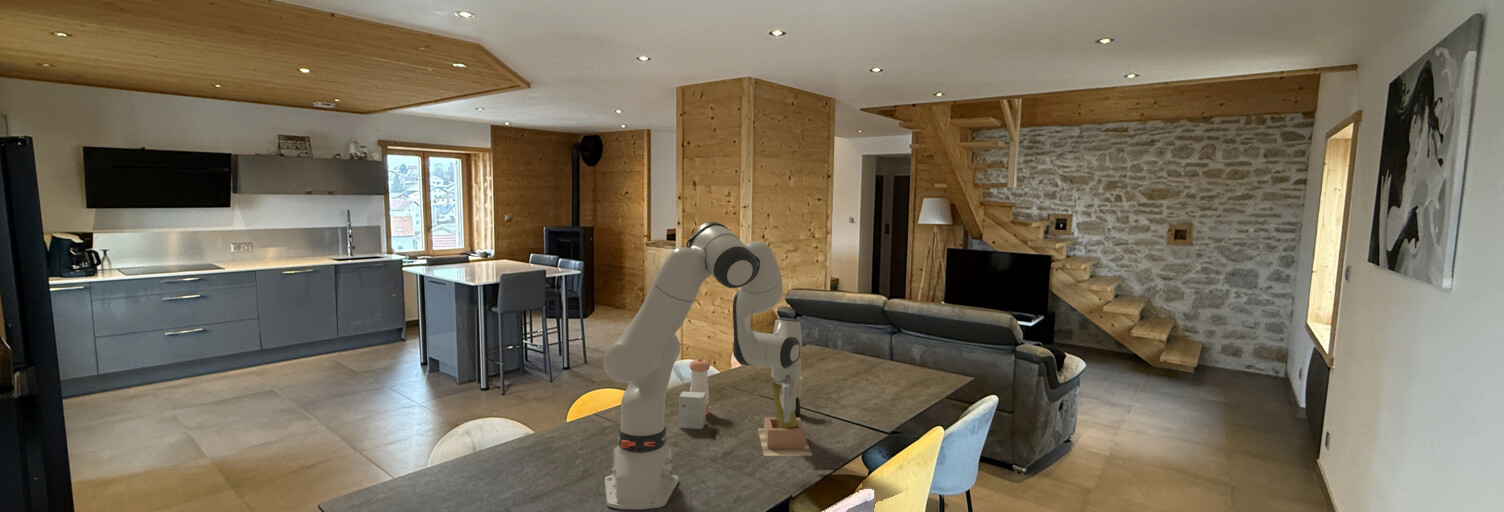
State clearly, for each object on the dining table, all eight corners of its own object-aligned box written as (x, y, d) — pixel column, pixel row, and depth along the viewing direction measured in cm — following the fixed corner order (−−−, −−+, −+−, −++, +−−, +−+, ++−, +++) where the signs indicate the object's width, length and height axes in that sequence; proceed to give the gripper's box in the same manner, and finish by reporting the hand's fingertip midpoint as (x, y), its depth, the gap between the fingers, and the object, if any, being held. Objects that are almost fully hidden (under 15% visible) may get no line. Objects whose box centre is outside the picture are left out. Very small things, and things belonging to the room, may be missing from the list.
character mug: (774, 411, 228) (775, 374, 227) (791, 408, 231) (792, 372, 230) (791, 420, 218) (792, 382, 217) (808, 417, 222) (810, 380, 221)
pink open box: (804, 448, 191) (805, 430, 191) (767, 448, 190) (767, 430, 190) (799, 434, 202) (799, 417, 202) (764, 434, 201) (764, 417, 201)
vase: (797, 426, 191) (789, 377, 195) (776, 429, 192) (769, 380, 196) (798, 426, 197) (791, 378, 201) (778, 429, 198) (771, 382, 201)
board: (812, 459, 186) (812, 455, 186) (763, 459, 185) (763, 455, 185) (801, 431, 208) (801, 428, 208) (757, 431, 207) (757, 428, 207)
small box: (705, 423, 213) (706, 392, 212) (702, 429, 207) (703, 397, 206) (681, 422, 213) (682, 390, 213) (678, 428, 208) (678, 396, 207)
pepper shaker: (684, 414, 221) (685, 359, 219) (692, 408, 228) (694, 354, 226) (704, 417, 219) (706, 361, 217) (712, 410, 226) (713, 356, 224)
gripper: (801, 381, 184) (799, 428, 186) (792, 363, 205) (790, 405, 206) (779, 381, 184) (778, 428, 185) (772, 363, 204) (770, 405, 206)
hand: (784, 416), depth 196 cm, fingers open, 8 cm apart
